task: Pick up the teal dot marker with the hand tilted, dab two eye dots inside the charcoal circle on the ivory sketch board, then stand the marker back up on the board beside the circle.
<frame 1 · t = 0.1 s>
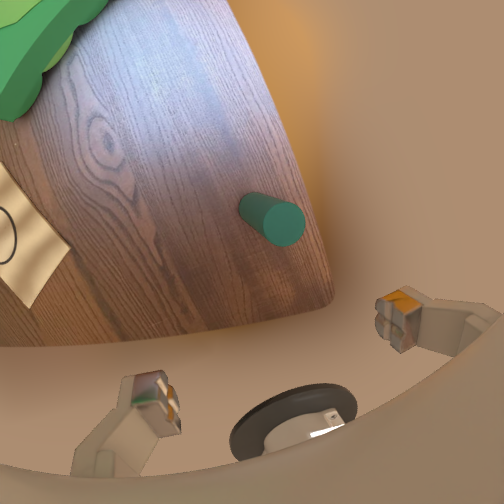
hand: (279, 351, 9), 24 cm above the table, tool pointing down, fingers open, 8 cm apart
toy tank: (32, 42, 18), on the table
dot marker: (252, 207, 32), on the table
sketch board: (11, 236, 25), on the table
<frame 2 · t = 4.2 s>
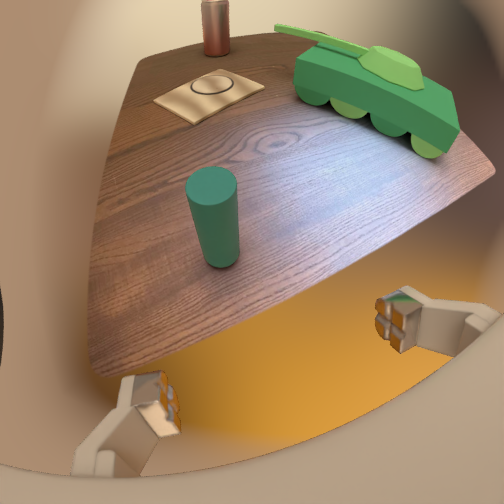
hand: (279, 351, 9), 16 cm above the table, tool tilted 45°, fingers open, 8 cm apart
toy tank: (355, 101, 44), on the table
dot marker: (222, 255, 29), on the table
beverage can: (217, 53, 53), on the table
sketch board: (209, 93, 43), on the table
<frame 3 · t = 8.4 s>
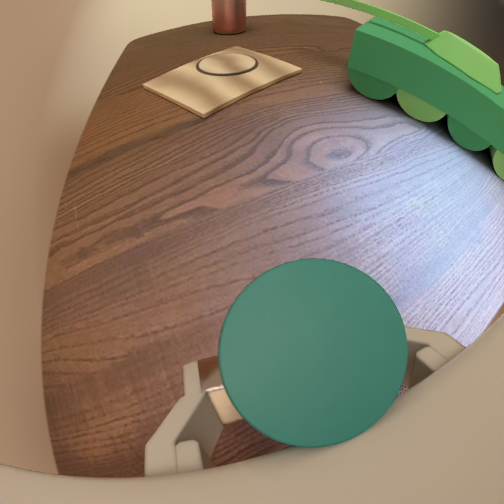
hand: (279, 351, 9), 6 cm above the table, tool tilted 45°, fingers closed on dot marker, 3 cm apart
toy tank: (416, 98, 30), on the table
dot marker: (270, 374, 14), on the table, touching gripper
beverage can: (229, 31, 39), on the table
sketch board: (223, 75, 29), on the table
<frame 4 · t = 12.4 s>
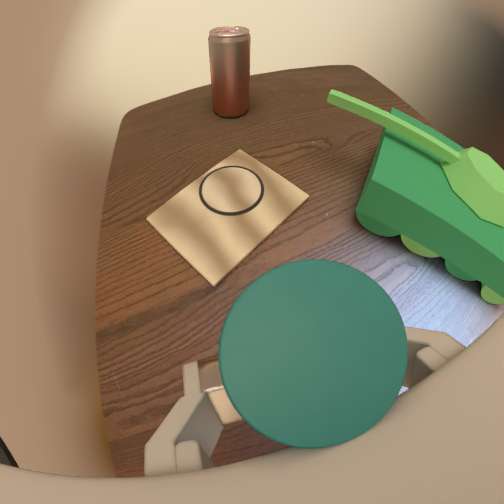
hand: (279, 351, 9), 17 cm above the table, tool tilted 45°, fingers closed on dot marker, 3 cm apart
toy tank: (420, 212, 34), on the table
dot marker: (270, 374, 14), point 11 cm above the table, touching gripper
beverage can: (231, 110, 43), on the table
sketch board: (228, 208, 33), on the table
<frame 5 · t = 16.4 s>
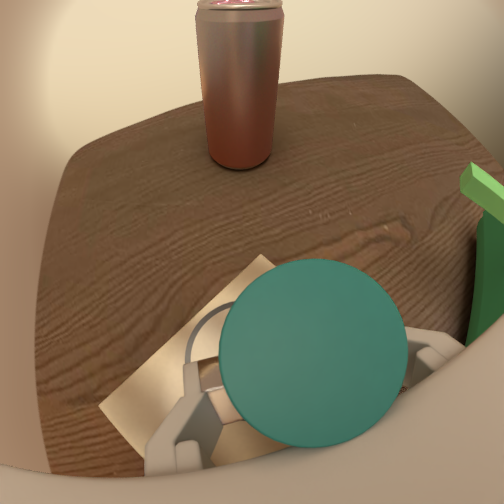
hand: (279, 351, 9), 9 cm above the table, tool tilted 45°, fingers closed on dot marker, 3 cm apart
dot marker: (270, 374, 14), point 3 cm above the table, touching gripper
beverage can: (240, 152, 26), on the table
sketch board: (243, 397, 16), on the table
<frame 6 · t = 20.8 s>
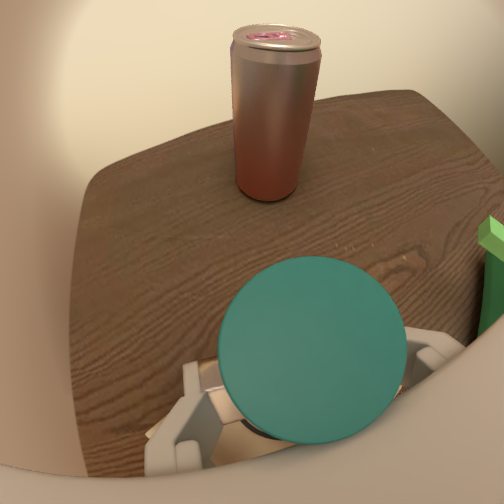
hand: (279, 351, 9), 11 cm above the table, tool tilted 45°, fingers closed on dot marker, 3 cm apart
dot marker: (271, 378, 14), point 5 cm above the table, touching gripper
beverage can: (266, 181, 27), on the table
sketch board: (281, 420, 17), on the table
when the fingers open (6 cm above the table, at t = 24.4 s): dot marker stays where it is, resting on sketch board.
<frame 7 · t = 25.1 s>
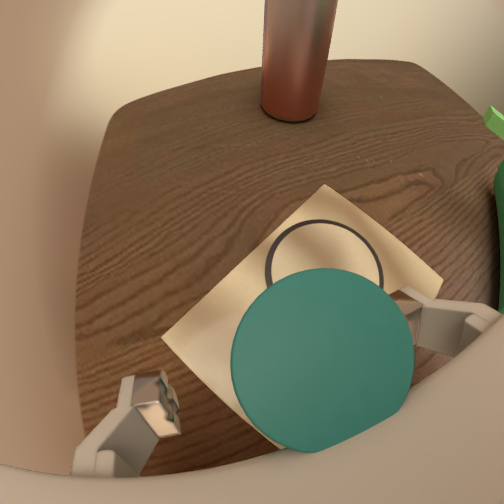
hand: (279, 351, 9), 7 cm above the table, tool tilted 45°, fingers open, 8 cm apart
dot marker: (274, 377, 14), point 1 cm above the table, touching sketch board
beverage can: (288, 109, 26), on the table
sketch board: (324, 313, 17), on the table
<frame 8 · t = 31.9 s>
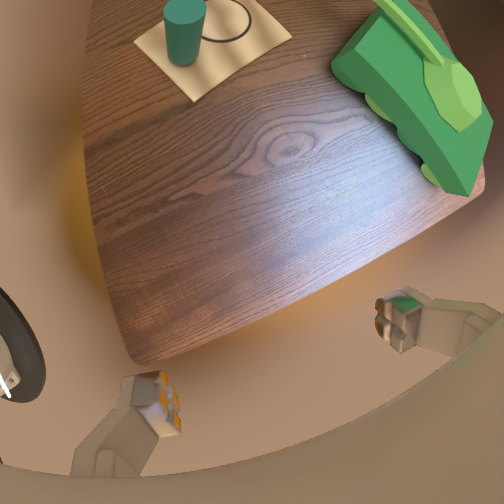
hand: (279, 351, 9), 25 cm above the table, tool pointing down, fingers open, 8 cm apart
toy tank: (390, 80, 33), on the table
dot marker: (183, 55, 26), point 1 cm above the table, touching sketch board
sketch board: (214, 35, 26), on the table
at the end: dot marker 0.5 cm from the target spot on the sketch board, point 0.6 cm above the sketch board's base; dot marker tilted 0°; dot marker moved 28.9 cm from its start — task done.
